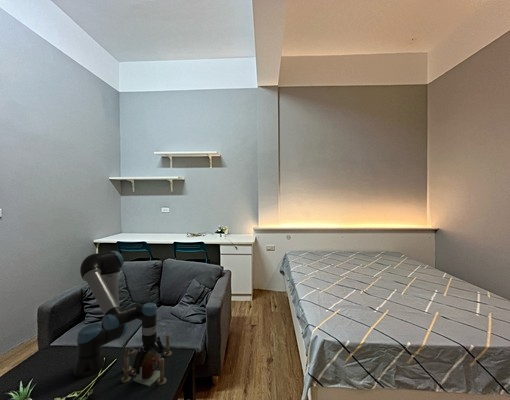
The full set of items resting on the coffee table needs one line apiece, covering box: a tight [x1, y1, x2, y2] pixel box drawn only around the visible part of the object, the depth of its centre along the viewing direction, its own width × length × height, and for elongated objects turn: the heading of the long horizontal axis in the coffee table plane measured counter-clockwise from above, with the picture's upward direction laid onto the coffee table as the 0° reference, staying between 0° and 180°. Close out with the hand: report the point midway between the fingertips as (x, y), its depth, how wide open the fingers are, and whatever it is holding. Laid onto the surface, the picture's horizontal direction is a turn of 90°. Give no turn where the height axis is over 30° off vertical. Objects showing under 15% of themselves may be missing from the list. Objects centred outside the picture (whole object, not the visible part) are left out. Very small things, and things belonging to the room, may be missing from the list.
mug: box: [141, 351, 160, 379], centre depth 146 cm, size 12×9×10 cm
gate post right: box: [156, 357, 168, 386], centre depth 143 cm, size 5×5×12 cm
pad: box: [133, 369, 160, 387], centre depth 146 cm, size 11×11×1 cm
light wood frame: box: [120, 346, 138, 383], centre depth 148 cm, size 11×11×13 cm
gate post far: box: [163, 333, 173, 357], centre depth 168 cm, size 5×5×12 cm
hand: (149, 371), depth 146 cm, fingers open, 13 cm apart
